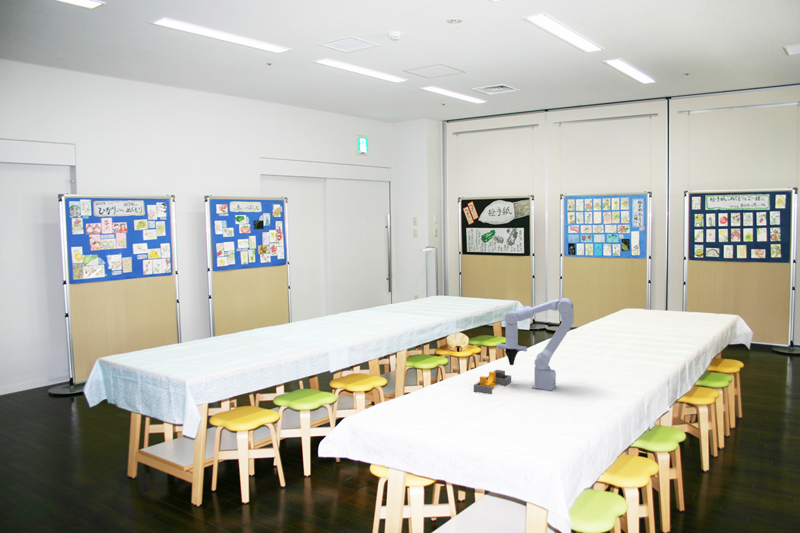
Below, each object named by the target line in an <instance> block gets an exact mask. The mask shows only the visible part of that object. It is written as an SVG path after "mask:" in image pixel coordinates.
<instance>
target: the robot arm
mask: <svg viewBox="0 0 800 533" xmlns="http://www.w3.org/2000/svg"><path fill="white" fill-rule="evenodd" d="M574 308H575V307H574V305H573V301H572V300H571V299H570V298H569V297H561V298H557V299H552V300H549V301H546V302H544V303H541V304H538V305H535V306H529V305H523V306H522V307H520V308H518V309H517V308H516V309H513V310H511V311H508V312H507V313H506V314H505V316H504V321H505V343H497V344H496V349H501V350H504V352H505V354H506V357H507V359H508V362H509V365H510V366H513V365H514V364H515V359H516V357H517V355H518V353H519V351H521V352H522V351H523V352H527V351H528V346H524V345H520V344H518V343H519V342H518V341H519V338H518V337H519V331H518V330H519V327H518V322H523V321H525V320H528V319H531V318H533V317H534V315H536V314H539V313H542V312H546V311H549V310H552V311H555V312H556V311H558V312H559V314H560V315H561V319H562V321H561V323H560V325H559V326H558V328H557V329H556V330H555V332H554V334H553V336H552V337H551V338H550V340H549V341H548V343H547V344H546V345H545V347H544V348H543V350H542V351H541V352H540V353H538V354H537V356H536V357H535V360H534V384H533V385H532V386H531V389H539V390H544V391H553V390H554V389H555V388H556V387H557V385H556V384H557V382H556V381H557V379H556V376H557V373H556V370H554V369H552V368H551V367H550V365H549V363H550V361H551V359H552V357H553V355H554V353H555V352H556V350H557V349H558V347H559V346H560V344H561V343H562V341H563V340H564V338H565V336H566V335H567V333H568V332H569V331H570V329H571V327H572V326H573V324H574V323H575V313H574V312H575V309H574Z"/></svg>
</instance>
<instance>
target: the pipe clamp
mask: <svg viewBox="0 0 800 533" xmlns="http://www.w3.org/2000/svg"><path fill="white" fill-rule="evenodd" d="M488 376H489V377H488ZM488 376H484V375H481V376H479V381H480V385H481V386H488V387H492V390H494V389H495V386H497V384H496V372H494V371H491V370H490V371H488ZM487 377H488V380H487Z"/></svg>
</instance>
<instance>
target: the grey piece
mask: <svg viewBox="0 0 800 533" xmlns="http://www.w3.org/2000/svg"><path fill="white" fill-rule="evenodd" d="M493 372H496V386H497V385H498V386H508V384H510V383H512V375H510V374H509V375H508V374H506V370H501V369H495V370H494V371H493ZM486 377H487V380H488V377H489V375H488V376H486ZM473 392H475V393H483V394H488V395H489V394H490V395H492V394H493V389H492V387H488V386H481V385H480V380H479V381H477V382H475V383H474V384H473Z"/></svg>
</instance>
